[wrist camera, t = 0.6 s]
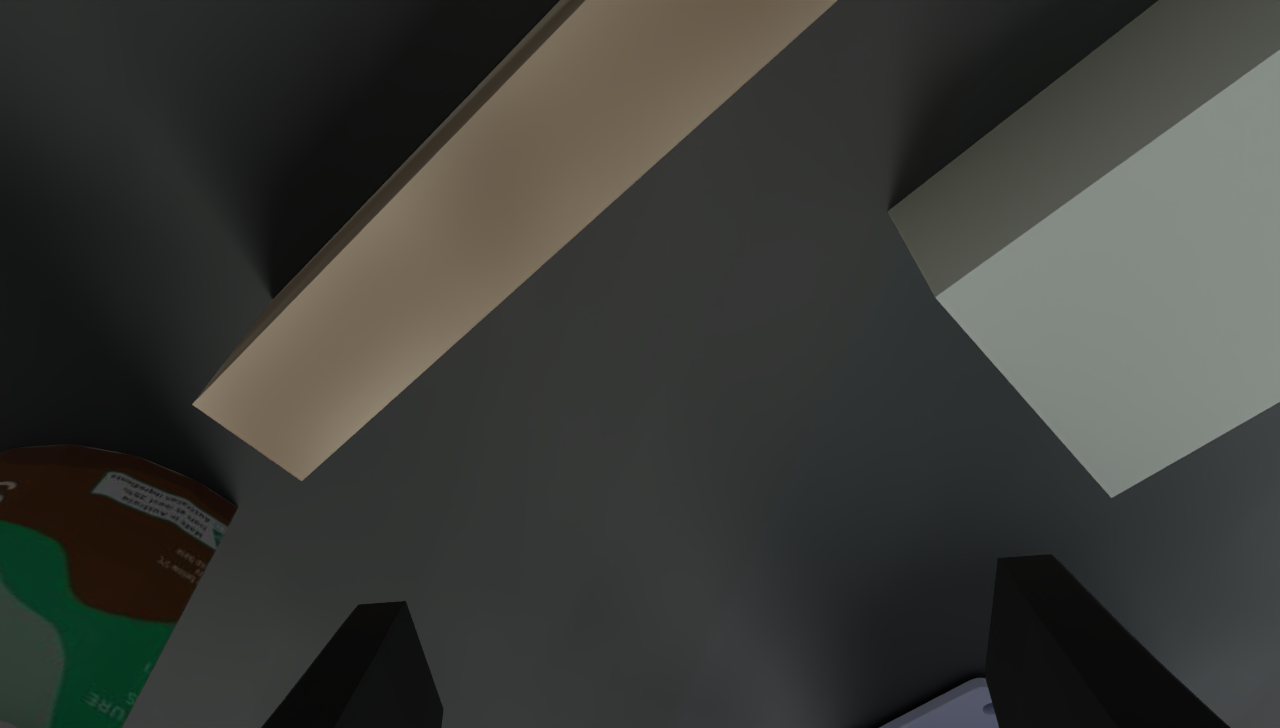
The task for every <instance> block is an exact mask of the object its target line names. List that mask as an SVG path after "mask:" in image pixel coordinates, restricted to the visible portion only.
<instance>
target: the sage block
mask: <svg viewBox="0 0 1280 728" xmlns="http://www.w3.org/2000/svg"><path fill="white" fill-rule="evenodd" d="M887 212H888V214H889V215H890V217H891V219H892V221H893V223H894V224H895V226H896V228H897V230H898V232H899V233H900V235H901V237H902V239H903V241H904V242H905V244H906V246H907V248H908V249H909V251H910V253H911V255H912V257H913V258H914V260H915V262H916V264H917V266H918V267H919V269H920V271H921V273H922V275H923V276H924V278H925V280H926V282H927V284H928V285H929V287H930V289H931V291H932V293H933V294H934V296H935V298H936V299H937V300H938V301H939V302H940V303H941V305H942V306H943V307H944V308H945V309H946V310H947V311H948V313H949V314H950V315H951V316H952V317H953V318H954V319H955V321H956V322H957V323H958V324H959V325H960V326H961V327H962V329H963V330H964V331H965V332H966V333H967V334H968V335H969V336H970V338H971V339H972V340H973V341H974V342H975V343H976V344H977V346H978V347H979V348H980V349H981V350H982V351H983V352H984V354H985V355H986V356H987V357H988V358H989V359H990V360H991V362H992V363H993V364H994V365H995V366H996V367H997V368H998V370H999V371H1000V372H1001V373H1002V374H1003V375H1004V376H1005V377H1006V379H1007V380H1008V381H1009V382H1010V383H1011V384H1012V385H1013V387H1014V388H1015V389H1016V390H1017V391H1018V392H1019V393H1020V395H1021V396H1022V397H1023V398H1024V399H1025V400H1026V401H1027V403H1028V404H1029V405H1030V406H1031V407H1032V408H1033V409H1034V411H1035V412H1036V413H1037V414H1038V415H1039V416H1040V417H1041V418H1042V420H1043V421H1044V422H1045V423H1046V424H1047V425H1048V426H1049V428H1050V429H1051V430H1052V431H1053V432H1054V433H1055V434H1056V436H1057V437H1058V438H1059V439H1060V440H1061V441H1062V442H1063V444H1064V445H1065V446H1066V447H1067V448H1068V449H1069V450H1070V452H1071V453H1072V454H1073V455H1074V456H1075V457H1076V458H1077V459H1078V461H1079V462H1080V463H1081V464H1082V465H1083V466H1084V467H1085V469H1086V470H1087V471H1088V472H1089V473H1090V474H1091V475H1092V477H1093V478H1094V479H1095V480H1096V481H1097V482H1098V483H1099V485H1100V486H1101V487H1102V488H1103V489H1104V490H1105V491H1106V493H1107V494H1108V495H1109V496H1110V497H1111V498H1113V497H1114V496H1116V495H1118V494H1120V493H1121V492H1123V491H1125V490H1127V489H1128V488H1130V487H1132V486H1134V485H1135V484H1137V483H1139V482H1141V481H1142V480H1144V479H1146V478H1148V477H1149V476H1151V475H1153V474H1155V473H1156V472H1158V471H1160V470H1162V469H1163V468H1165V467H1167V466H1169V465H1170V464H1172V463H1174V462H1176V461H1177V460H1179V459H1181V458H1182V457H1184V456H1186V455H1188V454H1189V453H1191V452H1193V451H1195V450H1196V449H1198V448H1200V447H1202V446H1203V445H1205V444H1207V443H1209V442H1210V441H1212V440H1214V439H1216V438H1217V437H1219V436H1221V435H1223V434H1224V433H1226V432H1228V431H1230V430H1231V429H1233V428H1235V427H1237V426H1238V425H1240V424H1242V423H1244V422H1245V421H1247V420H1249V419H1251V418H1252V417H1254V416H1256V415H1258V414H1259V413H1261V412H1263V411H1265V410H1266V409H1268V408H1270V407H1272V406H1273V405H1275V404H1277V403H1279V402H1280V0H1158V1H1157V2H1156V3H1154V4H1153V5H1152V6H1151V7H1149V8H1148V9H1147V10H1145V11H1144V12H1143V13H1142V14H1140V15H1139V16H1138V17H1136V18H1135V19H1134V20H1133V21H1131V22H1130V23H1129V24H1127V25H1126V26H1125V27H1124V28H1122V29H1121V30H1120V31H1118V32H1117V33H1116V34H1115V35H1113V36H1112V37H1111V38H1109V39H1108V40H1107V41H1106V42H1104V43H1103V44H1102V45H1100V46H1099V47H1098V48H1097V49H1095V50H1094V51H1093V52H1091V53H1090V54H1089V55H1088V56H1086V57H1085V58H1084V59H1083V60H1081V61H1080V62H1079V63H1077V64H1076V65H1075V66H1074V67H1072V68H1071V69H1070V70H1068V71H1067V72H1066V73H1065V74H1063V75H1062V76H1061V77H1059V78H1058V79H1057V80H1056V81H1054V82H1053V83H1052V84H1050V85H1049V86H1048V87H1047V88H1045V89H1044V90H1043V91H1041V92H1040V93H1039V94H1038V95H1036V96H1035V97H1034V98H1032V99H1031V100H1030V101H1029V102H1027V103H1026V104H1025V105H1023V106H1022V107H1021V108H1020V109H1018V110H1017V111H1016V112H1014V113H1013V114H1012V115H1011V116H1009V117H1008V118H1007V119H1006V120H1004V121H1003V122H1002V123H1000V124H999V125H998V126H997V127H995V128H994V129H993V130H991V131H990V132H989V133H988V134H986V135H985V136H984V137H982V138H981V139H980V140H979V141H977V142H976V143H975V144H973V145H972V146H971V147H970V148H968V149H967V150H966V151H964V152H963V153H962V154H961V155H959V156H958V157H957V158H955V159H954V160H953V161H952V162H950V163H949V164H948V165H946V166H945V167H944V168H943V169H941V170H940V171H939V172H938V173H936V174H935V175H934V176H932V177H931V178H930V179H929V180H927V181H926V182H925V183H923V184H922V185H921V186H920V187H918V188H917V189H916V190H914V191H913V192H912V193H911V194H909V195H908V196H907V197H905V198H904V199H903V200H902V201H900V202H899V203H898V204H896V205H895V206H894V207H893V208H891V209H890V210H889V211H887Z"/></svg>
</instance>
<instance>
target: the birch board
mask: <svg viewBox="0 0 1280 728" xmlns="http://www.w3.org/2000/svg"><path fill="white" fill-rule="evenodd" d="M836 1H837V0H560V1H559V2H558V3H557V4H556V5H555V6H554V7H553V8H552V9H551V10H550V11H549V12H548V13H547V14H546V15H545V16H544V17H543V18H542V20H541V21H540V22H539V23H538V24H537V25H536V26H535V27H534V28H533V29H532V30H531V31H530V32H529V33H528V34H527V35H526V36H525V37H524V38H523V39H522V40H521V41H520V42H519V44H518V45H517V46H516V47H515V48H514V49H513V50H512V51H511V52H510V53H509V54H508V55H507V56H506V57H505V58H504V59H503V60H502V61H501V62H500V63H499V64H498V65H497V66H496V67H495V69H494V70H493V71H492V72H491V73H490V74H489V75H488V76H487V77H486V78H485V79H484V80H483V81H482V82H481V83H480V84H479V85H478V86H477V87H476V88H475V89H474V90H473V91H472V93H471V94H470V95H469V96H468V97H467V98H466V99H465V100H464V101H463V102H462V103H461V104H460V105H459V106H458V107H457V108H456V109H455V110H454V111H453V112H452V113H451V114H450V115H449V116H448V118H447V119H446V120H445V121H444V122H443V123H442V124H441V125H440V126H439V127H438V128H437V129H436V130H435V131H434V132H433V133H432V134H431V135H430V136H429V137H428V138H427V139H426V140H425V142H424V143H423V144H422V145H421V146H420V147H419V148H418V149H417V150H416V151H415V152H414V153H413V154H412V155H411V156H410V157H409V158H408V159H407V160H406V161H405V162H404V163H403V164H402V165H401V167H400V168H399V169H398V170H397V171H396V172H395V173H394V174H393V175H392V176H391V177H390V178H389V179H388V180H387V181H386V182H385V183H384V184H383V185H382V186H381V187H380V188H379V189H378V191H377V192H376V193H375V194H374V195H373V196H372V197H371V198H370V199H369V200H368V201H367V202H366V203H365V204H364V205H363V206H362V207H361V208H360V209H359V210H358V211H357V212H356V213H355V214H354V216H353V217H352V218H351V219H350V220H349V221H348V222H347V223H346V224H345V225H344V226H343V227H342V228H341V229H340V230H339V231H338V232H337V233H336V234H335V235H334V236H333V237H332V238H331V240H330V241H329V242H328V243H327V244H326V245H325V246H324V247H323V248H322V249H321V250H320V251H319V252H318V253H317V254H316V255H315V256H314V257H313V258H312V259H311V260H310V261H309V262H308V263H307V265H306V266H305V267H304V268H303V269H302V270H301V271H300V272H299V273H298V274H297V275H296V276H295V277H294V278H293V279H292V280H291V281H290V282H289V283H288V284H287V285H286V286H285V287H284V289H283V290H282V291H281V292H280V293H279V294H278V295H277V296H276V297H275V298H274V299H273V300H272V301H271V302H270V304H269V305H268V306H267V308H266V309H265V310H264V311H263V313H262V314H261V315H260V317H259V318H258V319H257V321H256V322H255V323H254V325H253V326H252V327H251V328H250V330H249V331H248V332H247V334H246V335H245V336H244V338H243V339H242V340H241V341H240V343H239V344H238V345H237V347H236V348H235V349H234V351H233V352H232V353H231V354H230V356H229V357H228V358H227V360H226V361H225V362H224V364H223V365H222V366H221V368H220V369H219V370H218V371H217V373H216V374H215V375H214V377H213V378H212V379H211V381H210V382H209V383H208V384H207V386H206V387H205V388H204V390H203V391H202V392H201V394H200V395H199V396H198V397H197V399H196V400H195V401H194V403H193V404H192V405H194V406H195V407H196V408H198V409H199V410H201V411H202V412H204V413H205V414H206V415H208V416H209V417H211V418H212V419H214V420H215V421H216V422H218V423H219V424H221V425H222V426H224V427H225V428H226V429H228V430H229V431H231V432H232V433H234V434H235V435H237V436H238V437H239V438H241V439H242V440H244V441H245V442H247V443H248V444H249V445H251V446H252V447H254V448H255V449H257V450H258V451H259V452H261V453H262V454H264V455H265V456H267V457H268V458H269V459H271V460H272V461H274V462H275V463H277V464H278V465H279V466H281V467H282V468H284V469H285V470H287V471H288V472H289V473H291V474H292V475H294V476H295V477H297V478H298V479H299V480H301V481H302V480H303V479H305V478H306V477H307V476H308V475H309V474H310V473H311V472H312V471H314V470H315V469H316V468H317V467H318V466H319V465H320V464H321V463H322V462H324V461H325V460H326V459H327V458H328V457H329V456H330V455H331V454H332V453H334V452H335V451H336V450H337V449H338V448H339V447H340V446H341V445H342V444H344V443H345V442H346V441H347V440H348V439H349V438H350V437H351V436H353V435H354V434H355V433H356V432H357V431H358V430H359V429H360V428H361V427H363V426H364V425H365V424H366V423H367V422H368V421H369V420H370V419H371V418H373V417H374V416H375V415H376V414H377V413H378V412H379V411H380V410H382V409H383V408H384V407H385V406H386V405H387V404H388V403H389V402H390V401H392V400H393V399H394V398H395V397H396V396H397V395H398V394H399V393H400V392H402V391H403V390H404V389H405V388H406V387H407V386H408V385H409V384H410V383H412V382H413V381H414V380H415V379H416V378H417V377H418V376H419V375H421V374H422V373H423V372H424V371H425V370H426V369H427V368H428V367H429V366H431V365H432V364H433V363H434V362H435V361H436V360H437V359H438V358H439V357H441V356H442V355H443V354H444V353H445V352H446V351H447V350H448V349H449V348H451V347H452V346H453V345H454V344H455V343H456V342H457V341H458V340H460V339H461V338H462V337H463V336H464V335H465V334H466V333H467V332H468V331H470V330H471V329H472V328H473V327H474V326H475V325H476V324H477V323H478V322H480V321H481V320H482V319H483V318H484V317H485V316H486V315H487V314H488V313H490V312H491V311H492V310H493V309H494V308H495V307H496V306H497V305H499V304H500V303H501V302H502V301H503V300H504V299H505V298H506V297H507V296H509V295H510V294H511V293H512V292H513V291H514V290H515V289H516V288H517V287H519V286H520V285H521V284H522V283H523V282H524V281H525V280H526V279H527V278H529V277H530V276H531V275H532V274H533V273H534V272H535V271H536V270H538V269H539V268H540V267H541V266H542V265H543V264H544V263H545V262H546V261H548V260H549V259H550V258H551V257H552V256H553V255H554V254H555V253H556V252H558V251H559V250H560V249H561V248H562V247H563V246H564V245H565V244H567V243H568V242H569V241H570V240H571V239H572V238H573V237H574V236H575V235H577V234H578V233H579V232H580V231H581V230H582V229H583V228H584V227H585V226H587V225H588V224H589V223H590V222H591V221H592V220H593V219H594V218H595V217H597V216H598V215H599V214H600V213H601V212H602V211H603V210H604V209H606V208H607V207H608V206H609V205H610V204H611V203H612V202H613V201H614V200H616V199H617V198H618V197H619V196H620V195H621V194H622V193H623V192H624V191H626V190H627V189H628V188H629V187H630V186H631V185H632V184H633V183H634V182H636V181H637V180H638V179H639V178H640V177H641V176H642V175H643V174H645V173H646V172H647V171H648V170H649V169H650V168H651V167H652V166H653V165H655V164H656V163H657V162H658V161H659V160H660V159H661V158H662V157H663V156H665V155H666V154H667V153H668V152H669V151H670V150H671V149H672V148H673V147H675V146H676V145H677V144H678V143H679V142H680V141H681V140H682V139H684V138H685V137H686V136H687V135H688V134H689V133H690V132H691V131H692V130H694V129H695V128H696V127H697V126H698V125H699V124H700V123H701V122H702V121H704V120H705V119H706V118H707V117H708V116H709V115H710V114H711V113H712V112H714V111H715V110H716V109H717V108H718V107H719V106H720V105H721V104H723V103H724V102H725V101H726V100H727V99H728V98H729V97H730V96H731V95H733V94H734V93H735V92H736V91H737V90H738V89H739V88H740V87H741V86H743V85H744V84H745V83H746V82H747V81H748V80H749V79H750V78H752V77H753V76H754V75H755V74H756V73H757V72H758V71H759V70H760V69H762V68H763V67H764V66H765V65H766V64H767V63H768V62H769V61H770V60H772V59H773V58H774V57H775V56H776V55H777V54H778V53H779V52H780V51H782V50H783V49H784V48H785V47H786V46H787V45H788V44H789V43H791V42H792V41H793V40H794V39H795V38H796V37H797V36H798V35H799V34H801V33H802V32H803V31H804V30H805V29H806V28H807V27H808V26H809V25H811V24H812V23H813V22H814V21H815V20H816V19H817V18H818V17H819V16H821V15H822V14H823V13H824V12H825V11H826V10H827V9H828V8H830V7H831V6H832V5H833V4H834V3H835V2H836Z"/></svg>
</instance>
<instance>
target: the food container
mask: <svg viewBox="0 0 1280 728" xmlns="http://www.w3.org/2000/svg"><path fill="white" fill-rule="evenodd" d="M237 509H238V507H237V506H235V505H234V504H232V503H231V502H229V501H228V500H226V499H224V498H223V497H221V496H220V495H218V494H217V493H215V492H214V491H212V490H211V489H209V488H208V487H206V486H205V485H203V484H202V483H200V482H199V481H197V480H194V479H192V478H189V477H187V476H185V475H182V474H180V473H177V472H175V471H172V470H170V469H168V468H165V467H163V466H160V465H158V464H156V463H153V462H151V461H148V460H146V459H143V458H141V457H139V456H136V455H130V454H125V453H119V452H114V451H108V450H103V449H97V448H92V447H86V446H81V445H75V444H62V445H47V446H32V447H17V448H11V449H9V450H6V451H3V452H1V453H0V728H122V727H123V725H124V723H125V721H126V719H127V717H128V715H129V713H130V712H131V710H132V708H133V706H134V704H135V702H136V700H137V698H138V696H139V694H140V693H141V691H142V689H143V687H144V685H145V683H146V681H147V679H148V677H149V676H150V674H151V672H152V670H153V668H154V666H155V664H156V662H157V660H158V659H159V657H160V655H161V653H162V651H163V649H164V647H165V645H166V643H167V642H168V640H169V638H170V636H171V634H172V632H173V630H174V628H175V626H176V625H177V623H178V621H179V619H180V617H181V615H182V613H183V611H184V609H185V607H186V606H187V604H188V602H189V600H190V598H191V596H192V594H193V592H194V590H195V589H196V587H197V585H198V583H199V581H200V579H201V577H202V575H203V573H204V572H205V570H206V568H207V566H208V564H209V562H210V560H211V558H212V556H213V555H214V553H215V551H216V549H217V547H218V545H219V543H220V541H221V539H222V537H223V536H224V534H225V532H226V530H227V528H228V526H229V524H230V522H231V520H232V519H233V517H234V515H235V513H236V511H237Z"/></svg>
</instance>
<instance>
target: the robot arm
mask: <svg viewBox="0 0 1280 728" xmlns="http://www.w3.org/2000/svg"><path fill="white" fill-rule="evenodd" d="M442 717H443V707H442V704H441V701H440V698H439V695H438V692H437V689H436V687H435V684H434V681H433V678H432V675H431V672H430V669H429V666H428V664H427V661H426V658H425V655H424V652H423V649H422V646H421V643H420V641H419V638H418V635H417V632H416V629H415V626H414V623H413V621H412V618H411V615H410V612H409V609H408V606H407V603H406V601H402V602H388V603H374V604H361V605H358V606H357V607H356V608H355V609H354V610H353V612H352V613H351V614H350V615H349V617H348V618H347V619H346V620H345V622H344V623H343V624H342V625H341V627H340V628H339V629H338V631H337V632H336V633H335V634H334V636H333V637H332V638H331V640H330V641H329V642H328V643H327V645H326V646H325V647H324V649H323V650H322V651H321V653H320V654H319V655H318V656H317V658H316V659H315V660H314V662H313V663H312V664H311V665H310V667H309V668H308V669H307V671H306V672H305V673H304V674H303V676H302V677H301V678H300V680H299V681H298V682H297V683H296V685H295V686H294V687H293V689H292V690H291V691H290V692H289V694H288V695H287V696H286V697H285V699H284V700H283V701H282V703H281V704H280V705H279V706H278V708H277V709H276V710H275V711H274V712H273V714H272V715H271V716H270V717H269V719H268V720H267V721H266V722H265V724H264V725H263V726H262V727H261V728H441V725H442ZM879 728H1230V727H1229V726H1228V725H1227V724H1226V723H1225V722H1224V721H1223V720H1221V719H1220V718H1219V717H1218V716H1217V715H1216V714H1215V713H1214V712H1213V711H1211V710H1210V709H1209V708H1208V707H1207V706H1206V705H1205V704H1204V703H1203V702H1202V701H1201V700H1200V699H1199V698H1197V697H1196V696H1195V695H1194V694H1193V693H1192V692H1191V691H1190V690H1189V689H1188V688H1187V687H1186V686H1185V685H1184V684H1182V683H1181V682H1180V681H1179V680H1178V679H1177V678H1176V677H1175V676H1174V675H1173V674H1172V673H1171V672H1170V671H1168V670H1167V669H1166V668H1165V667H1164V666H1163V665H1162V664H1161V663H1160V662H1159V661H1158V660H1157V659H1156V658H1155V657H1154V656H1153V655H1152V654H1151V653H1150V652H1149V651H1148V650H1147V649H1146V648H1145V647H1144V646H1142V645H1141V644H1140V643H1139V642H1138V641H1137V640H1136V639H1135V638H1134V637H1133V636H1132V635H1131V634H1130V633H1129V632H1128V631H1127V630H1126V629H1125V628H1124V627H1123V626H1122V625H1121V624H1120V623H1119V622H1118V621H1117V620H1116V619H1115V618H1114V617H1113V616H1112V615H1111V614H1110V613H1109V612H1108V611H1107V610H1106V609H1105V608H1104V607H1103V606H1102V605H1101V604H1100V603H1099V602H1098V600H1097V599H1096V598H1095V597H1094V596H1093V595H1092V594H1091V593H1090V592H1089V591H1088V590H1087V589H1086V588H1085V587H1084V586H1083V585H1082V584H1081V583H1080V582H1079V581H1078V580H1077V579H1076V578H1075V577H1074V576H1073V575H1072V574H1071V573H1070V572H1069V571H1068V570H1067V569H1066V568H1065V567H1064V566H1063V565H1062V564H1061V563H1060V562H1059V561H1058V560H1057V559H1056V558H1055V557H1054V556H1052V555H1051V554H1050V555H1036V556H1023V557H1009V558H998V563H997V572H996V580H995V589H994V598H993V607H992V615H991V624H990V633H989V641H988V650H987V659H986V668H985V678H975V679H972V680H969V681H967V682H965V683H963V684H962V685H960V686H958V687H956V688H954V689H952V690H950V691H948V692H946V693H944V694H942V695H940V696H939V697H937V698H935V699H933V700H931V701H929V702H927V703H925V704H923V705H921V706H919V707H917V708H916V709H914V710H912V711H910V712H908V713H906V714H904V715H902V716H900V717H898V718H896V719H894V720H892V721H891V722H889V723H887V724H885V725H883V726H881V727H879Z"/></svg>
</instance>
